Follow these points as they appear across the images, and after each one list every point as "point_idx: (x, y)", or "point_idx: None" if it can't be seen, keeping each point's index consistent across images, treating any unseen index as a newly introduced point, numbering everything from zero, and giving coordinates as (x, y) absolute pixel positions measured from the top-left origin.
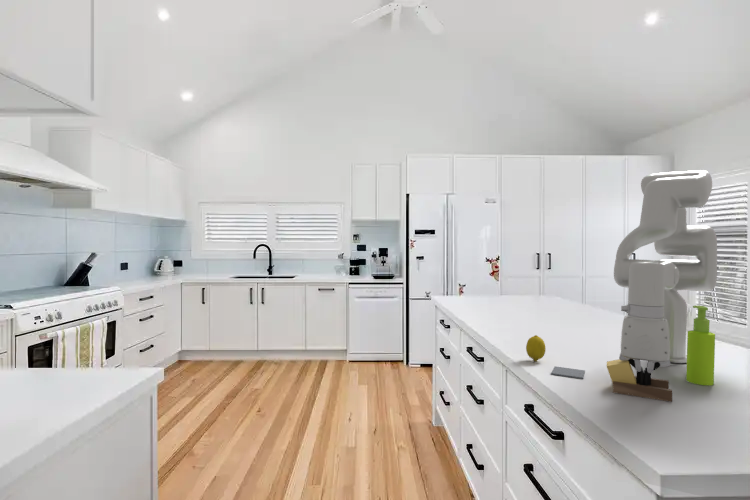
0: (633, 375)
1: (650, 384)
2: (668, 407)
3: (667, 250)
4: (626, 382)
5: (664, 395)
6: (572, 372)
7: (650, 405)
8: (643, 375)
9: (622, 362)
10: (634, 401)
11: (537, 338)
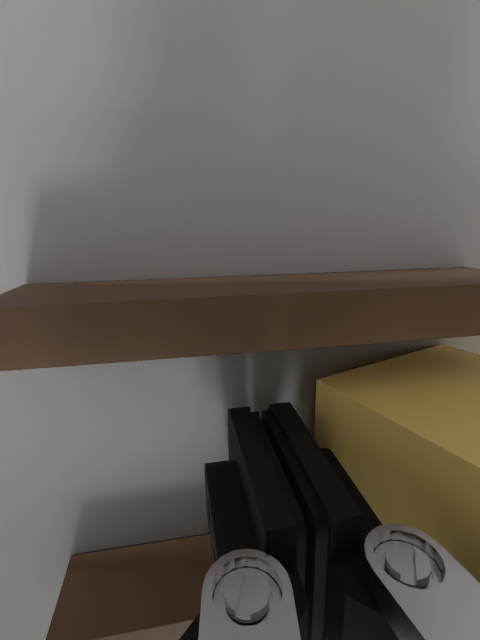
0: (406, 460)
1: (208, 463)
2: (42, 62)
3: None
4: (419, 380)
5: (77, 288)
6: None
7: (204, 37)
8: (306, 491)
9: None
10: (331, 98)
11: None
